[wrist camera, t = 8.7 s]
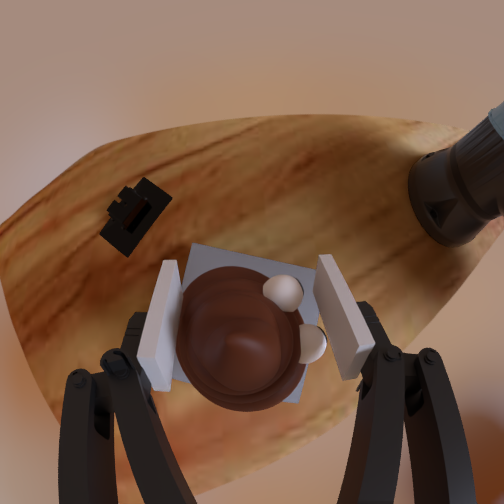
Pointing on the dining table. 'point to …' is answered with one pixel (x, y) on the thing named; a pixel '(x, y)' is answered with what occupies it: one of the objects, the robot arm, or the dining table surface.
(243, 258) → the grey block
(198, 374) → the poop emoji
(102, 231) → the black mounting bracket
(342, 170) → the dining table surface
